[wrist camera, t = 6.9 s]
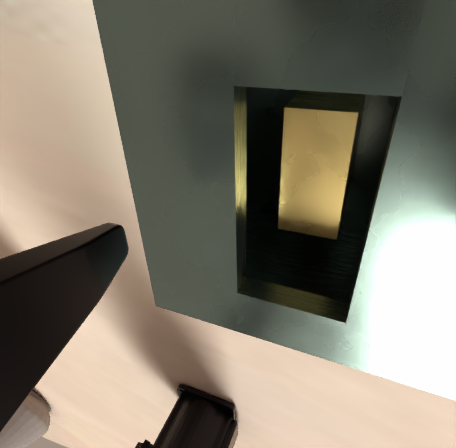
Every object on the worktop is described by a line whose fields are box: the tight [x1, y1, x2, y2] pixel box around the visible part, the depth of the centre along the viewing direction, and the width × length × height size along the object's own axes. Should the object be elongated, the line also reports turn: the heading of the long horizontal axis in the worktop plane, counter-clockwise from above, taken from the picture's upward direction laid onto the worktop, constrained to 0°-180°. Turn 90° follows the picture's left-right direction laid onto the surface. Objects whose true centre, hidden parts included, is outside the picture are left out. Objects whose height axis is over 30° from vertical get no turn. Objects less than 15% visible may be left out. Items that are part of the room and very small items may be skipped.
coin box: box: [93, 0, 456, 400], centre depth 14 cm, size 12×12×8 cm
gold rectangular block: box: [278, 90, 366, 240], centre depth 15 cm, size 2×5×5 cm, turn 2°
